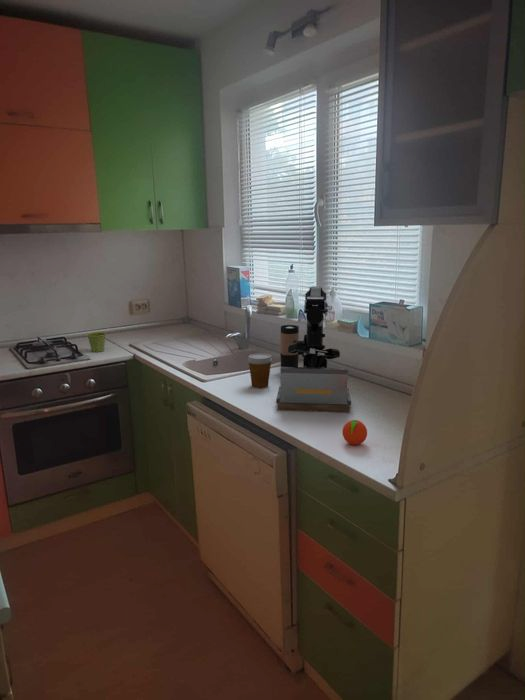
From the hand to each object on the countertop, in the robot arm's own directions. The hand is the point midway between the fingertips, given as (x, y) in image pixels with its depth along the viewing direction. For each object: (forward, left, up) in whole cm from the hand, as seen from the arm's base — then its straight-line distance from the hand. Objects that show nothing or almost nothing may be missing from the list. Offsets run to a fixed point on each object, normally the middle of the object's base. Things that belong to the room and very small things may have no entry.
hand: (313, 375), depth 179 cm
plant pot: (-30, -127, -10) cm, 131 cm away
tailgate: (+8, +3, -8) cm, 11 cm away
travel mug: (-33, -23, -10) cm, 41 cm away
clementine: (+28, +23, -10) cm, 38 cm away
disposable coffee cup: (-11, -26, -10) cm, 30 cm away
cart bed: (+1, 0, -10) cm, 10 cm away
